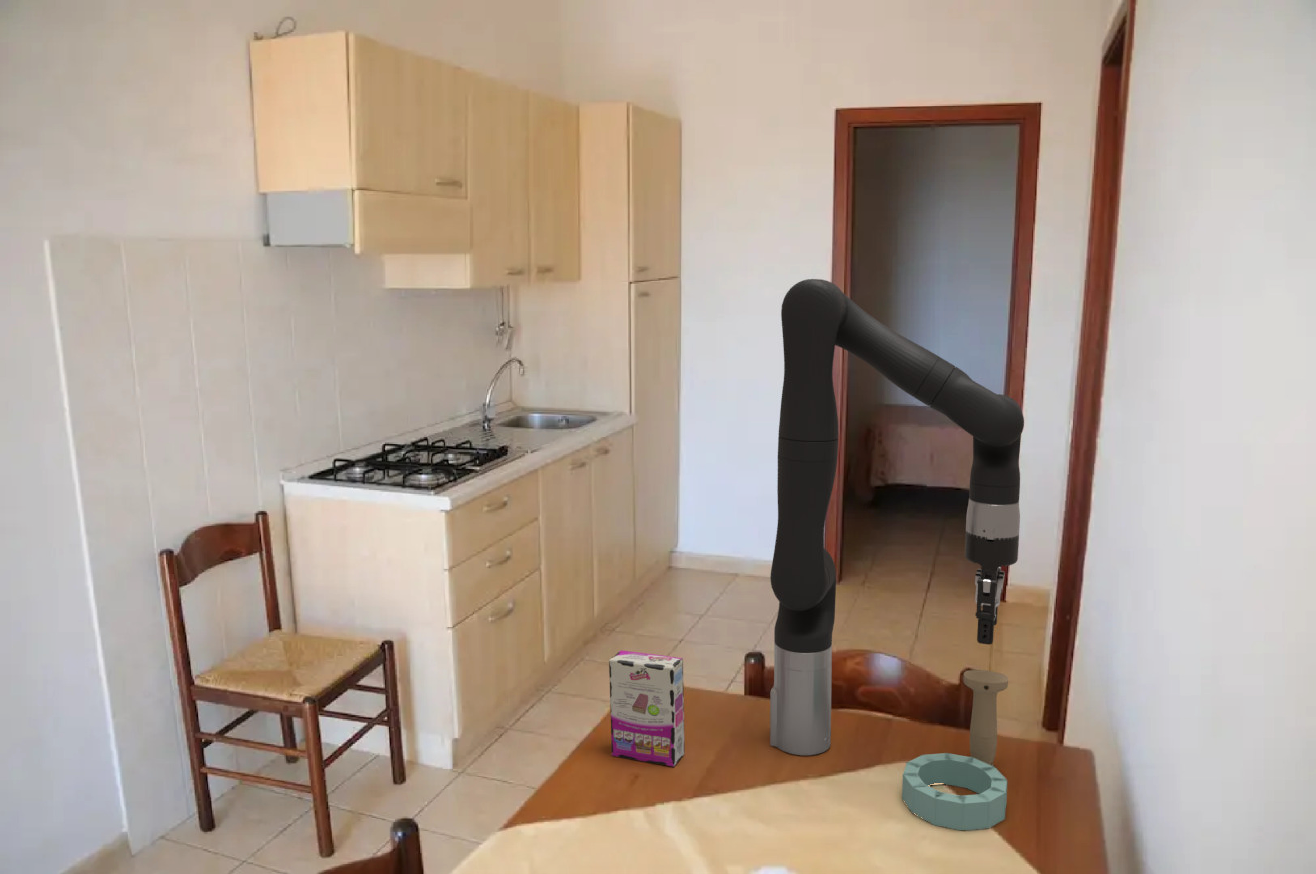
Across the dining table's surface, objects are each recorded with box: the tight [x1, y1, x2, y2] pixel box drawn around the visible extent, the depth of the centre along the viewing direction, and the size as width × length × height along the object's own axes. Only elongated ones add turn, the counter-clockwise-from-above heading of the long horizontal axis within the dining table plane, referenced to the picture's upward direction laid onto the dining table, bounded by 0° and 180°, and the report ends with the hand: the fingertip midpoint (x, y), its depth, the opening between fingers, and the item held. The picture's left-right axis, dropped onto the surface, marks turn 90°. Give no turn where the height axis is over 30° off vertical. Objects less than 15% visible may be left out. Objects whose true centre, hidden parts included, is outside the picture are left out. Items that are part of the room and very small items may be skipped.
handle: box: [963, 669, 1009, 767], centre depth 146 cm, size 5×6×15 cm
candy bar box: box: [608, 649, 686, 767], centre depth 151 cm, size 11×5×16 cm, turn 68°
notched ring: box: [901, 752, 1008, 831], centre depth 137 cm, size 14×14×4 cm
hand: (987, 633), depth 143 cm, fingers open, 8 cm apart
